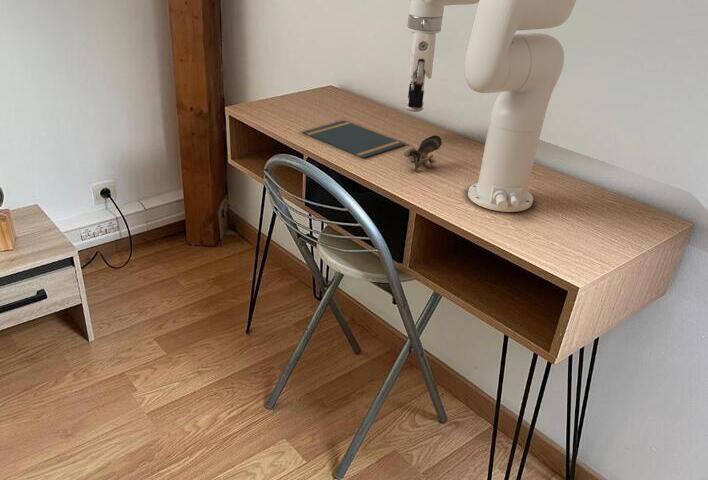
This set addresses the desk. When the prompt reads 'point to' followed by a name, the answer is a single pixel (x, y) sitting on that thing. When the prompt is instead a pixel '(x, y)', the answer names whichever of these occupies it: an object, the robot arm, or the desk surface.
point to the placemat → (354, 139)
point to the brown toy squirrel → (424, 151)
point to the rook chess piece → (412, 107)
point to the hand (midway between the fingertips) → (414, 103)
